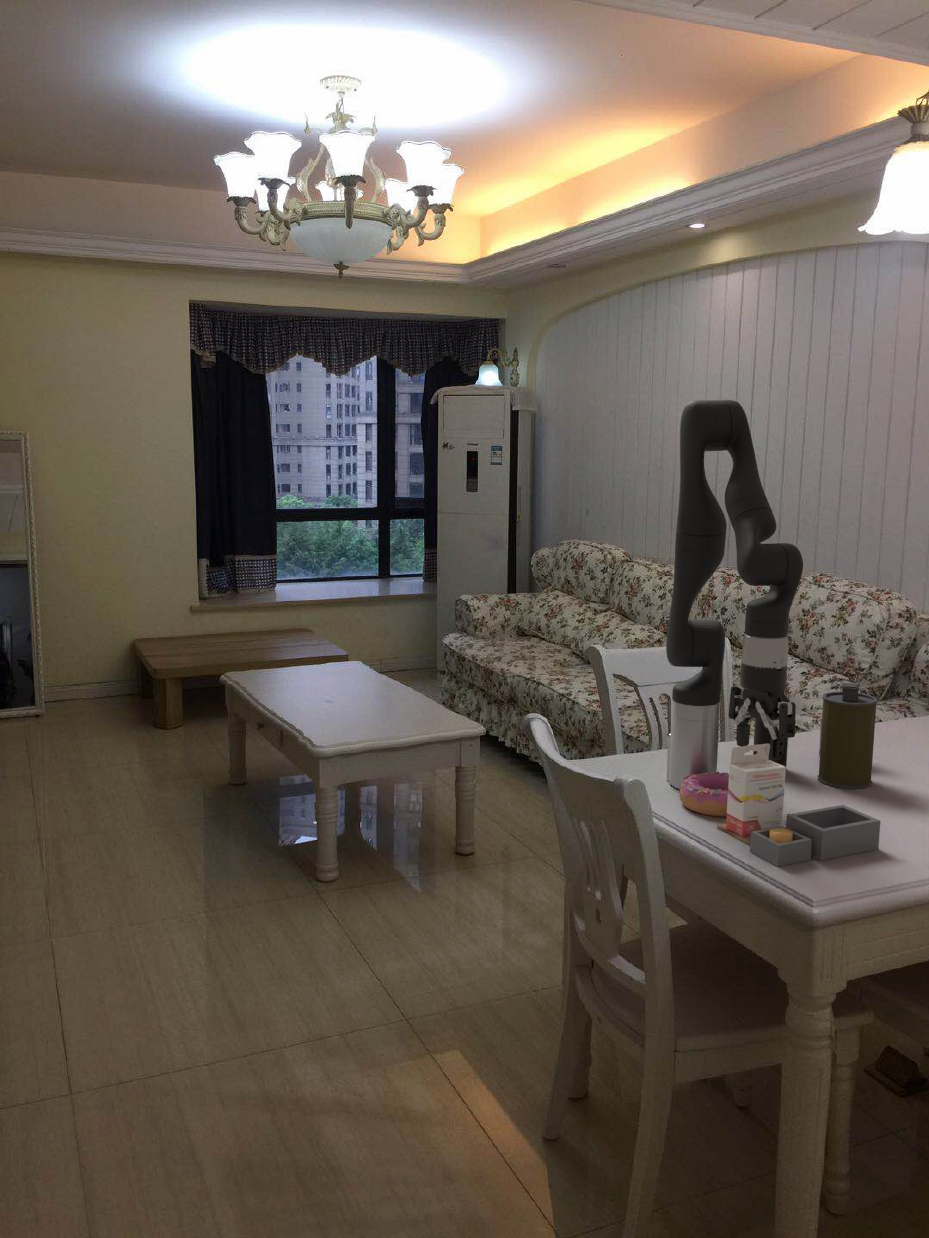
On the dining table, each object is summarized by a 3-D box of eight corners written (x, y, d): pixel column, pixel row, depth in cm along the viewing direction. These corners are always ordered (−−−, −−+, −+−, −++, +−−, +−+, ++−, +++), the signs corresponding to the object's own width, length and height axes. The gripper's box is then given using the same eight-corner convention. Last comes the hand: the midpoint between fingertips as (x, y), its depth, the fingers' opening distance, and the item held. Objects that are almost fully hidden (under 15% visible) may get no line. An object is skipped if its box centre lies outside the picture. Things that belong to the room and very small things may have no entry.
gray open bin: (784, 842, 176) (786, 814, 175) (841, 832, 181) (842, 804, 180) (820, 860, 168) (822, 831, 168) (878, 849, 174) (880, 820, 173)
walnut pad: (717, 827, 183) (717, 824, 183) (757, 820, 186) (757, 817, 186) (750, 845, 175) (750, 842, 175) (792, 837, 178) (792, 834, 178)
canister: (872, 791, 203) (879, 692, 200) (816, 785, 206) (822, 687, 203) (871, 775, 213) (878, 680, 210) (818, 770, 216) (823, 676, 213)
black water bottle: (793, 770, 216) (798, 677, 213) (771, 776, 212) (776, 681, 209) (766, 762, 221) (771, 671, 218) (745, 767, 218) (750, 674, 214)
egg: (763, 850, 171) (765, 830, 171) (781, 847, 173) (782, 826, 172) (778, 858, 168) (780, 837, 167) (796, 854, 169) (797, 834, 169)
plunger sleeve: (749, 851, 172) (750, 831, 172) (781, 845, 175) (783, 825, 174) (777, 866, 166) (778, 845, 165) (810, 859, 169) (811, 839, 168)
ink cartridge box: (742, 838, 176) (747, 754, 174) (725, 828, 181) (728, 747, 179) (783, 831, 180) (788, 749, 177) (764, 821, 184) (769, 741, 182)
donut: (770, 817, 189) (771, 791, 188) (695, 821, 186) (696, 795, 186) (738, 792, 203) (739, 767, 202) (668, 795, 200) (669, 770, 200)
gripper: (719, 654, 180) (715, 743, 183) (775, 671, 168) (769, 767, 171) (754, 650, 183) (749, 739, 186) (811, 667, 171) (805, 761, 174)
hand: (759, 752), depth 178 cm, fingers open, 8 cm apart
